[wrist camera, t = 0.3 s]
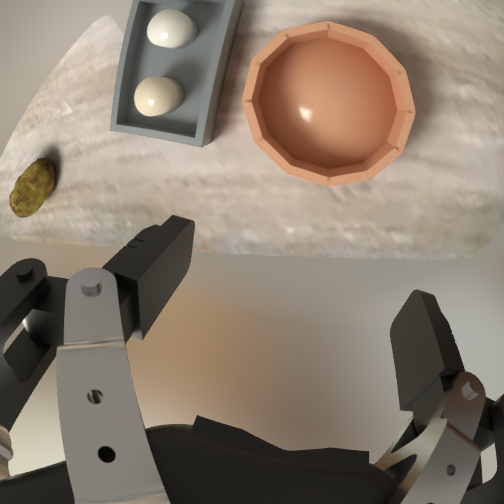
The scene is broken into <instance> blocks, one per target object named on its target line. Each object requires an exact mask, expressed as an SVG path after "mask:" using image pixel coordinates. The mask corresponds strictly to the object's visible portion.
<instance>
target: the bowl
mask: <svg viewBox="0 0 504 504" xmlns="http://www.w3.org/2000/svg"><path fill="white" fill-rule="evenodd" d="M252 60H253V61H251V64H250V68H249V72H248V76H247V80H246V84H245V89H244V93H243V97H242V101H243V102H242V104H243V107H244V111H245V114H246V117H247V120H248V123H249V126H250V129H251V133H252V136H253V139H254V142H255V143H256V144H257V145H258V146H259V147H260V148H261V149H262V150H263V151H264V152H265V153H266V154H267V155H268V156H269V157H270V158H271V159H272V160H273V161H274V162H275V163H276V164H277V165H278V166H279V167H280V168H281V169H282V170H283V171H284V172H287V174H290V175H294V176H297V177H300V178H303V179H306V180H310V181H313V182H316V183H319V184H322V185H325V186H328V185H329V186H335V185H340V184H346V183H352V182H358V181H364V180H370V178H371V179H372V178H373V177H374V176H375V175H376V174H378V173H379V172H380V171H381V170H383V169H384V168H385V167H386V166H387V165H389V164H390V163H391V162H392V161H393V160H395V159H396V158H397V157H398V156H399V155H401V154H402V152H403V150H404V147H405V145H406V142H407V139H408V136H409V133H410V130H411V127H412V124H413V121H414V117H415V114H416V111H415V106H414V102H413V97H412V93H411V89H410V85H409V81H408V77H407V73H406V70H405V69H404V67H403V66H402V65H401V64H400V63H399V62H398V61H397V60H396V58H395V57H394V56H393V55H392V54H391V53H390V52H389V51H388V50H387V49H386V48H385V47H384V46H383V45H382V44H381V43H380V42H379V41H378V40H377V39H376V38H375V37H374V36H373V35H370V34H368V33H365V32H362V31H359V30H356V29H353V28H350V27H347V26H344V25H341V24H337V23H334V22H330V21H329V22H328V21H324V22H319V23H313V24H308V25H303V26H299V27H294V28H290V29H286V30H284V31H282V32H280V33H279V34H278V35H277V36H276V37H275V38H274V39H273V40H272V41H271V42H270V43H269V44H267V45H266V46H265V47H264V48H263V49H262V50H261V51H260V52H259V53H258V54H257V55H256V56H255V57H254V58H253V59H252ZM404 70H405V71H404Z"/></svg>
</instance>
